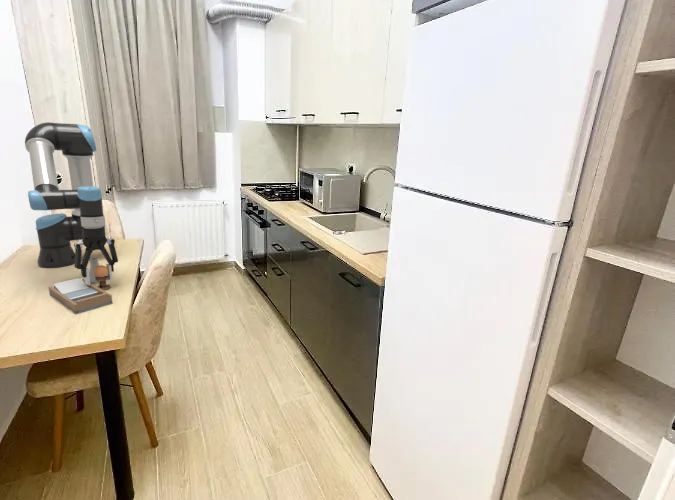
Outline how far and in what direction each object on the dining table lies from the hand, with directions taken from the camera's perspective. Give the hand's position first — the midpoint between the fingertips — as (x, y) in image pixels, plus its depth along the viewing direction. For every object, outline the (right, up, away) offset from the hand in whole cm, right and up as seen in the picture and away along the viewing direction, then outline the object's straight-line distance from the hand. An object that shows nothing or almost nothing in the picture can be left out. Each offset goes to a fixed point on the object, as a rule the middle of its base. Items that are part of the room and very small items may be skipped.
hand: (99, 281), depth 145 cm
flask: (-8, 0, +10) cm, 12 cm away
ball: (+1, +4, 0) cm, 4 cm away
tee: (0, -3, +2) cm, 4 cm away
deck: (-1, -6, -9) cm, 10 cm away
